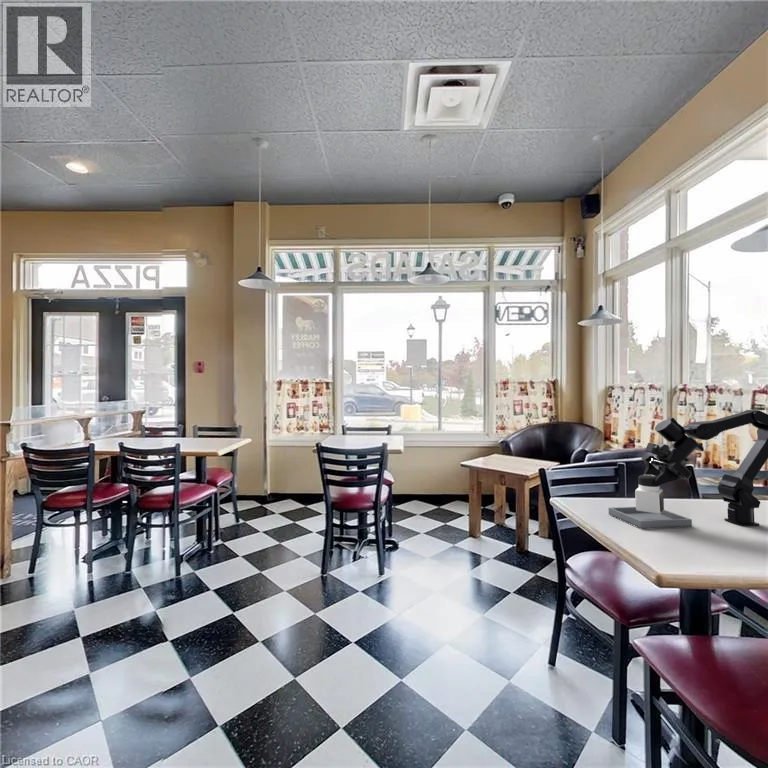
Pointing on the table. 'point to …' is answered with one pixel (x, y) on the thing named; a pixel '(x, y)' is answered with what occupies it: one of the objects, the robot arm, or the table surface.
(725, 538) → the table surface
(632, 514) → the tray
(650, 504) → the medicine bottle
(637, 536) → the table surface
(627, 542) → the table surface
